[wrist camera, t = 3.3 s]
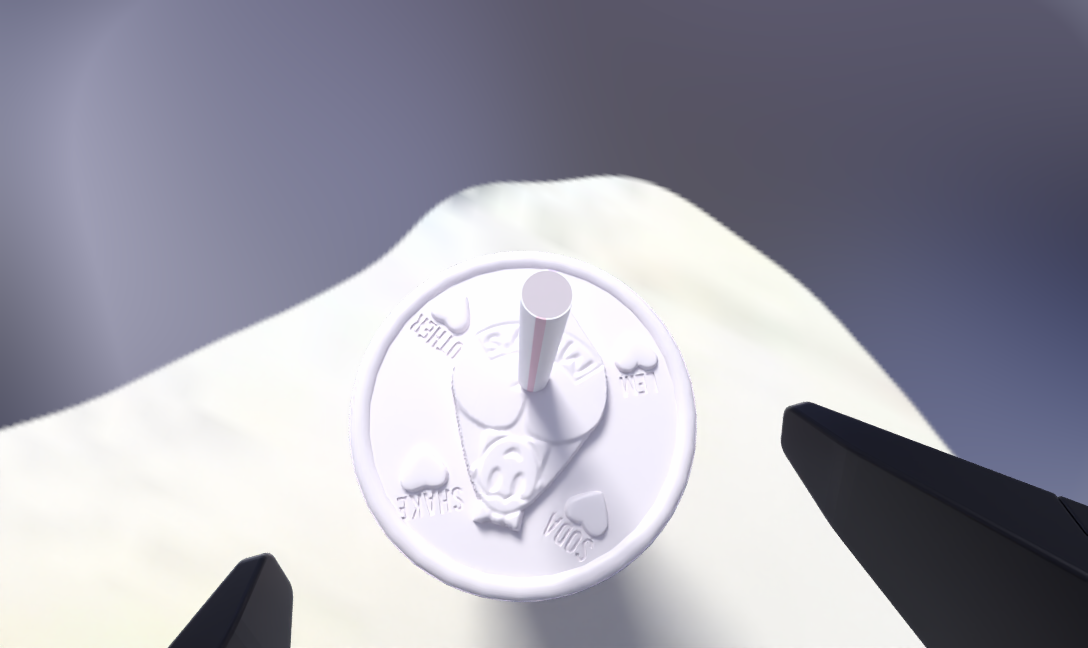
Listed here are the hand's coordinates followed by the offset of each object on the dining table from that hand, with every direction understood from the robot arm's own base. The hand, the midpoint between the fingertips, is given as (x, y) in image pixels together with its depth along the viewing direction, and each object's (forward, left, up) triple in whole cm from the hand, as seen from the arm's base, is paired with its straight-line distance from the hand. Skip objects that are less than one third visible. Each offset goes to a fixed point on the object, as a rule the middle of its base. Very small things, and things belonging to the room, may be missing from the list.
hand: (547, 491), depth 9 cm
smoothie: (+1, 0, -10) cm, 10 cm away
